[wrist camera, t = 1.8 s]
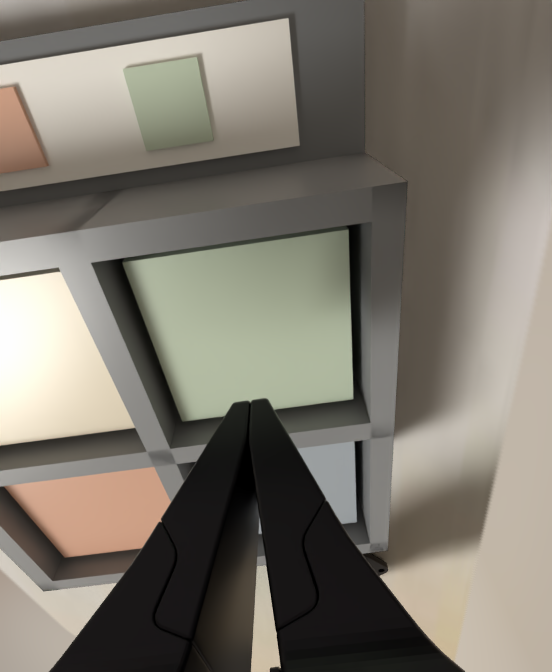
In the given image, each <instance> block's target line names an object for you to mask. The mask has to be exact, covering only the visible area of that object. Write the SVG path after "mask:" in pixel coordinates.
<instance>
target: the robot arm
mask: <svg viewBox="0 0 552 672" xmlns="http://www.w3.org/2000/svg"><path fill="white" fill-rule="evenodd" d="M259 518H260V525H261V532H262V539H263V545H264V552H265V559H266V566H267V573H268V580H269V586H270V593H271V600H272V607H273V614H274V621H275V628H276V632H277V641H278V649H279V656H280V664H281V668H279V667H273V668H270V672H465V671H464V670H463V669H462V668H460V667H459V666H458V665H457V664H456V663H454V662H453V661H452V660H451V659H450V658H449V657H447V656H446V655H445V654H444V653H443V652H442V651H441V650H440V649H439V648H438V647H437V646H436V645H435V644H434V643H433V642H432V641H431V640H430V639H429V638H428V636H427V635H426V634H425V633H424V632H423V631H422V630H421V628H420V627H419V626H418V625H417V624H416V622H415V621H414V620H413V619H412V617H411V616H410V615H409V614H408V612H407V611H406V610H405V609H404V607H403V606H402V605H401V603H400V602H399V601H398V600H397V598H396V597H395V596H394V594H393V593H392V592H391V591H390V589H389V588H388V587H387V585H386V584H385V583H384V582H383V580H382V579H381V578H380V575H382V574H384V573H386V572H387V571H388V567H387V563H386V562H384V561H382V560H380V559H379V558H377V557H375V556H373V555H372V554H370V553H364V554H362V553H361V551H360V550H359V549H358V547H357V546H356V545H355V543H354V542H353V540H352V539H351V538H350V536H349V535H348V533H347V532H346V530H345V528H344V527H343V525H342V524H341V522H340V520H339V519H338V517H337V516H336V514H335V512H334V511H333V509H332V507H331V505H330V504H329V502H328V501H326V497H325V496H324V494H323V492H322V490H321V489H320V487H319V485H318V484H317V482H316V480H315V478H314V477H313V475H312V473H311V472H310V470H309V468H308V466H307V465H306V463H305V461H304V460H303V458H302V456H301V455H300V453H299V451H298V449H297V448H296V446H295V444H294V443H293V441H292V439H291V437H290V436H289V434H288V432H287V431H286V429H285V427H284V425H283V424H282V422H281V420H280V419H279V417H278V415H277V413H276V412H275V410H274V408H273V407H272V405H271V403H270V401H269V400H268V399H267V398H261V399H254V400H252V401H251V402H250V401H248V400H246V401H239V402H234V403H233V404H232V405H231V407H230V408H229V410H228V411H227V413H226V415H225V416H224V418H223V420H222V421H221V423H220V424H219V426H218V428H217V429H216V431H215V432H214V434H213V436H212V437H211V439H210V440H209V442H208V444H207V445H206V447H205V448H204V450H203V452H202V453H201V455H200V456H199V458H198V460H197V461H196V463H195V464H194V466H193V468H192V469H191V471H190V472H189V474H188V476H187V477H186V479H185V480H184V482H183V484H182V485H181V487H180V489H179V490H178V492H177V493H176V495H175V497H174V498H173V500H172V501H171V503H170V505H169V506H168V508H167V509H166V511H165V513H164V514H163V516H162V517H161V521H162V522H158V523H157V525H156V527H155V528H154V530H153V532H152V533H151V535H150V536H149V538H148V539H147V541H146V542H145V544H144V546H143V547H142V549H141V550H140V552H139V553H138V555H137V556H136V558H135V559H134V561H133V562H132V564H131V565H130V566H129V568H128V569H127V570H126V572H125V573H124V575H123V576H122V577H121V579H120V580H119V581H118V583H117V584H116V586H115V587H114V588H113V590H112V591H111V592H110V594H109V595H108V596H107V597H106V599H105V600H104V601H103V603H102V604H101V605H100V607H99V608H98V609H97V611H96V612H95V613H94V615H93V616H92V617H91V619H90V620H89V621H88V623H87V624H86V625H85V626H84V628H83V629H82V630H81V632H80V633H79V634H78V636H77V637H76V638H75V640H74V641H73V642H72V644H71V645H70V646H69V648H68V649H67V650H66V651H65V653H64V654H63V656H62V657H61V658H60V659H59V661H58V662H57V663H56V664H55V665H54V667H53V668H52V669H51V670H50V671H49V672H251V658H252V640H253V622H254V605H255V587H256V569H257V552H258V534H259Z"/></svg>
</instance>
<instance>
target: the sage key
mask: <svg viewBox="0 0 552 672" xmlns="http://www.w3.org/2000/svg"><path fill="white" fill-rule="evenodd" d="M122 264H123V266H124V269H125V272H126V274H127V277H128V280H129V282H130V285H131V288H132V290H133V293H134V295H135V298H136V301H137V303H138V306H139V309H140V311H141V314H142V317H143V319H144V322H145V325H146V327H147V330H148V333H149V335H150V338H151V341H152V343H153V346H154V348H155V351H156V354H157V356H158V359H159V362H160V364H161V367H162V370H163V372H164V375H165V378H166V380H167V383H168V386H169V388H170V391H171V393H172V396H173V399H174V401H175V404H176V407H177V409H178V412H179V415H180V417H181V420H182V422H184V421H191V420H199V419H206V418H214V417H222V416H225V415H226V413H227V411H228V410H229V408H230V407H231V405H232V404H233V403H234V402H239V401H246V400H248V401H250V402H251V401H252V400H254V399H261V398H267V399H268V400H269V401H270V403H271V405H272V407H273V408H274V410H275V409H283V408H290V407H298V406H305V405H313V404H321V403H328V402H336V401H344V400H351V399H353V370H352V335H351V300H350V265H349V231H348V228H347V226H339V227H332V228H325V229H319V230H312V231H305V232H298V233H291V234H284V235H277V236H271V237H264V238H257V239H250V240H243V241H236V242H229V243H223V244H216V245H209V246H202V247H195V248H188V249H181V250H175V251H168V252H161V253H154V254H147V255H140V256H133V257H127V258H125V259H124V261H123V262H122Z"/></svg>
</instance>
